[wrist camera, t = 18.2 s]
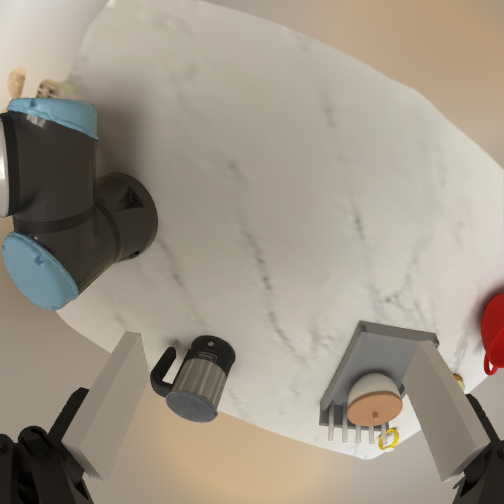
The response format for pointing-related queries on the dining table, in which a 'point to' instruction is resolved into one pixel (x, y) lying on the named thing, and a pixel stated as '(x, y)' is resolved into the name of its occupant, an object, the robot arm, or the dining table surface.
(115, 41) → the dining table surface
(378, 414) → the lidded jar
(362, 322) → the dish rack
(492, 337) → the ceramic cup
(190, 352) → the milk frother
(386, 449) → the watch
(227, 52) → the dining table surface
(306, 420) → the dining table surface
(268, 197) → the dining table surface
